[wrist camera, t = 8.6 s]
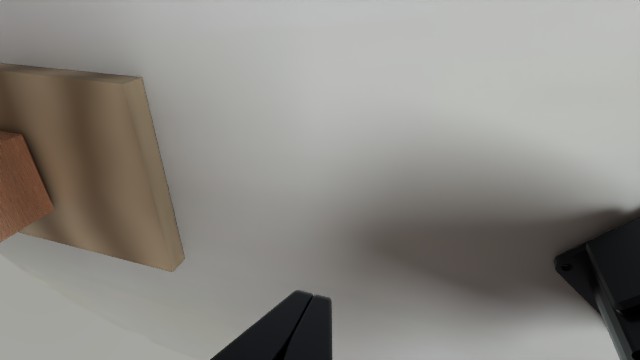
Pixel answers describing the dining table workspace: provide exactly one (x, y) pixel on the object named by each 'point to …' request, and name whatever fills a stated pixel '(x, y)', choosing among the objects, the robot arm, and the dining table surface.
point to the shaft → (19, 187)
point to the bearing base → (94, 162)
